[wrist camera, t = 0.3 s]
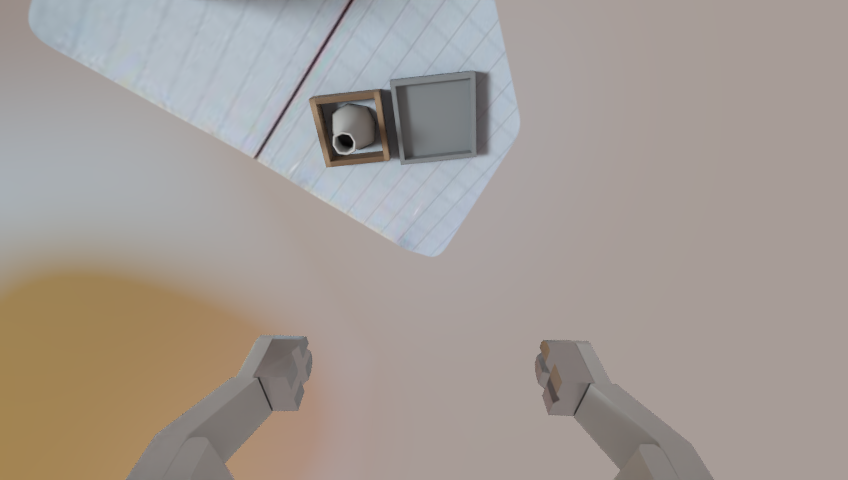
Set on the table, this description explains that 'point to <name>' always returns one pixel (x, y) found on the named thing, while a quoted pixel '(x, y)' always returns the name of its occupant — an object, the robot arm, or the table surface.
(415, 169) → the table surface
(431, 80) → the tray
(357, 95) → the shaker holder
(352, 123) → the flask
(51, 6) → the table surface
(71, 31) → the table surface
